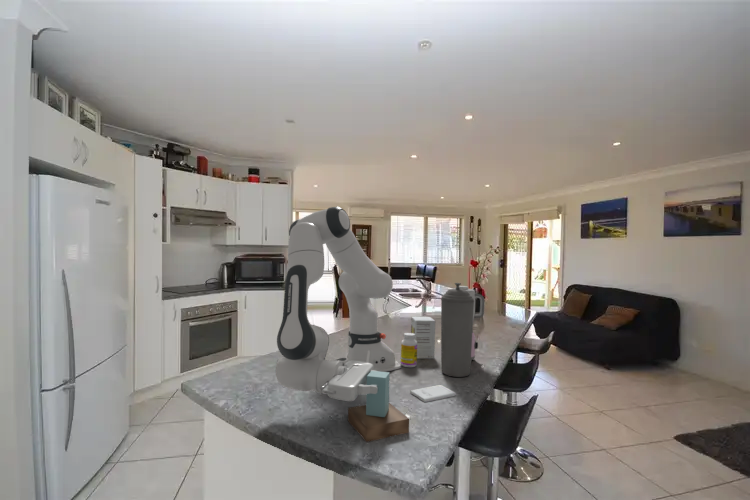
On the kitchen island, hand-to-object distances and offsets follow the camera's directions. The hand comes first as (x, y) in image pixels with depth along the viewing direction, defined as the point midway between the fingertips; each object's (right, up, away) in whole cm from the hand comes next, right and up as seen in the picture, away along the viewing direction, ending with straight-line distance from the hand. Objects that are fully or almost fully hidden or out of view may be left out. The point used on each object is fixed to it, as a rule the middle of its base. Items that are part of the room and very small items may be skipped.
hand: (381, 383), depth 96 cm
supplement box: (+19, -13, +68) cm, 72 cm away
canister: (+29, -13, +45) cm, 55 cm away
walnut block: (-1, -12, 0) cm, 12 cm away
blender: (+37, -13, +63) cm, 74 cm away
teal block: (-1, -8, 0) cm, 8 cm away
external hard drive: (+17, -13, +23) cm, 32 cm away
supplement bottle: (+12, -12, +53) cm, 56 cm away
